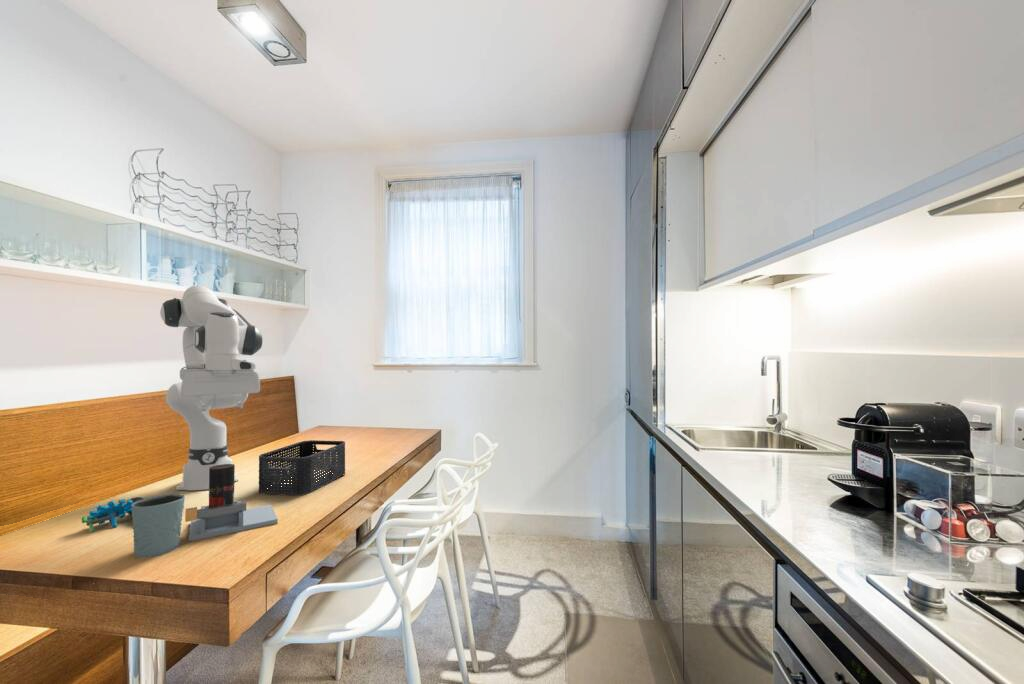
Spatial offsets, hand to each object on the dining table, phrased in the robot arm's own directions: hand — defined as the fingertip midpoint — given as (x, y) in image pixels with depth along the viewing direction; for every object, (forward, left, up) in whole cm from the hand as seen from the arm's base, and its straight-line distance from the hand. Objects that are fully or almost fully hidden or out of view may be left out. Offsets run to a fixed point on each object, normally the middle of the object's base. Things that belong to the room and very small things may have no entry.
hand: (221, 409), depth 132 cm
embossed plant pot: (+22, -13, -31) cm, 40 cm away
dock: (+13, +3, -31) cm, 34 cm away
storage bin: (-19, +27, -32) cm, 46 cm away
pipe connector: (-10, -15, -32) cm, 37 cm away
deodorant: (+12, 0, -30) cm, 32 cm away
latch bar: (+18, -1, -26) cm, 32 cm away
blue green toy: (-7, -26, -31) cm, 41 cm away
